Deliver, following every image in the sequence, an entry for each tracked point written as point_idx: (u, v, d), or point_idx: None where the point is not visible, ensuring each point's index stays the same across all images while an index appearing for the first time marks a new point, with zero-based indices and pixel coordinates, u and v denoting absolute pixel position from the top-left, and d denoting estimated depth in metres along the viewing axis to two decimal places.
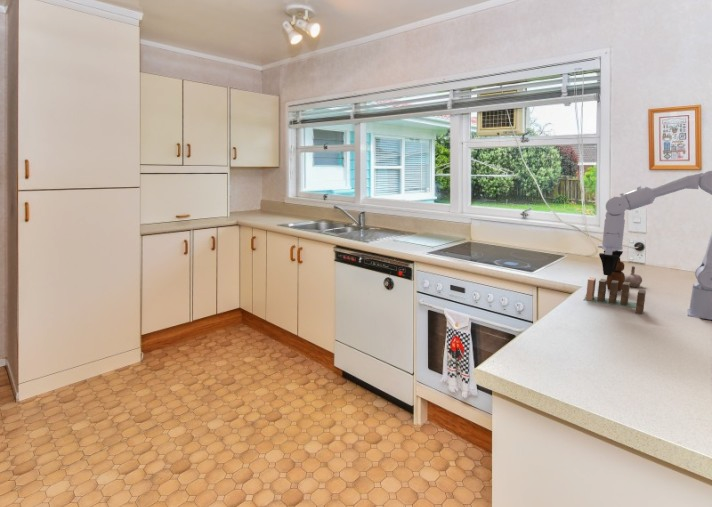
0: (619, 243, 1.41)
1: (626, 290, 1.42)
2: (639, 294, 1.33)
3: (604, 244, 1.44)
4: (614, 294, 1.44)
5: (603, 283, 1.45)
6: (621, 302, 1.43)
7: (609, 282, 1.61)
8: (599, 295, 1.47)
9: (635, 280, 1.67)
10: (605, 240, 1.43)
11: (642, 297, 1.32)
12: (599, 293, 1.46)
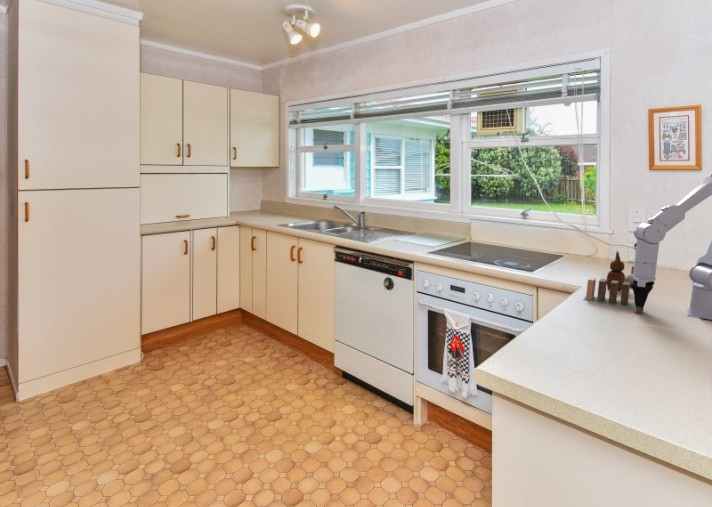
0: (652, 274, 1.30)
1: (626, 290, 1.42)
2: None
3: (635, 274, 1.33)
4: (614, 294, 1.44)
5: (603, 283, 1.45)
6: (621, 302, 1.43)
7: (609, 282, 1.61)
8: (599, 295, 1.47)
9: None
10: (637, 270, 1.32)
11: None
12: (599, 293, 1.46)
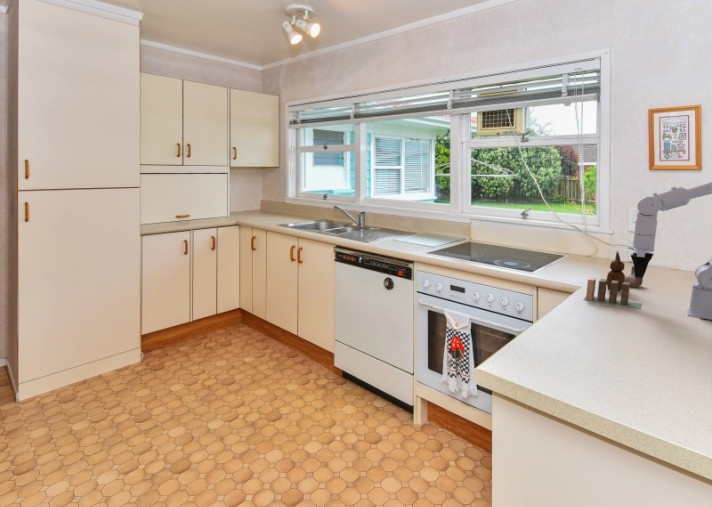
0: (651, 245, 1.36)
1: (626, 290, 1.42)
2: None
3: (635, 246, 1.39)
4: (614, 294, 1.44)
5: (603, 283, 1.45)
6: (621, 302, 1.43)
7: (609, 282, 1.61)
8: (599, 295, 1.47)
9: None
10: (636, 241, 1.38)
11: None
12: (599, 293, 1.46)
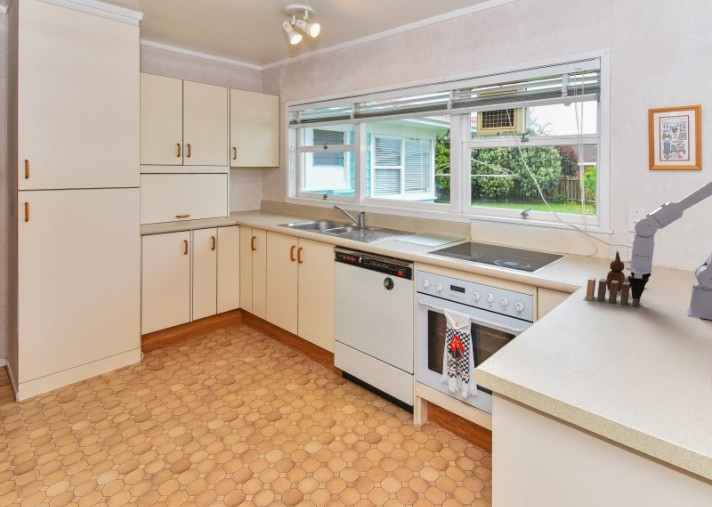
0: (648, 266, 1.37)
1: (626, 290, 1.42)
2: None
3: (633, 266, 1.40)
4: (614, 294, 1.44)
5: (603, 283, 1.45)
6: (621, 302, 1.43)
7: (609, 282, 1.61)
8: (599, 295, 1.47)
9: None
10: (634, 262, 1.39)
11: None
12: (599, 293, 1.46)
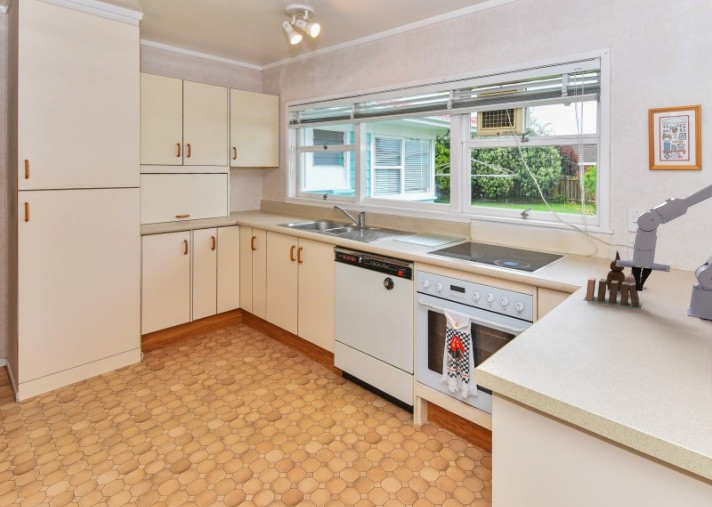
0: (635, 259, 1.39)
1: (626, 290, 1.42)
2: (630, 287, 1.41)
3: None
4: (614, 294, 1.44)
5: (603, 283, 1.45)
6: (621, 302, 1.43)
7: (609, 282, 1.61)
8: (599, 295, 1.47)
9: None
10: None
11: (633, 289, 1.40)
12: (599, 293, 1.46)
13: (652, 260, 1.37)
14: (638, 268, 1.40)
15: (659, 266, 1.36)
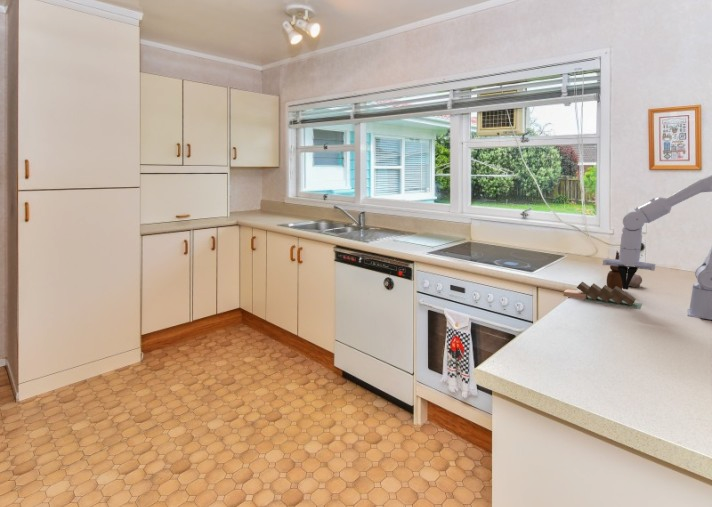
0: (621, 257, 1.41)
1: (607, 291, 1.45)
2: (613, 292, 1.44)
3: None
4: (601, 293, 1.46)
5: (580, 285, 1.50)
6: (617, 302, 1.44)
7: (609, 282, 1.61)
8: (590, 295, 1.48)
9: (635, 280, 1.67)
10: None
11: (617, 291, 1.43)
12: (588, 294, 1.49)
13: (637, 259, 1.39)
14: (624, 267, 1.42)
15: (644, 265, 1.38)
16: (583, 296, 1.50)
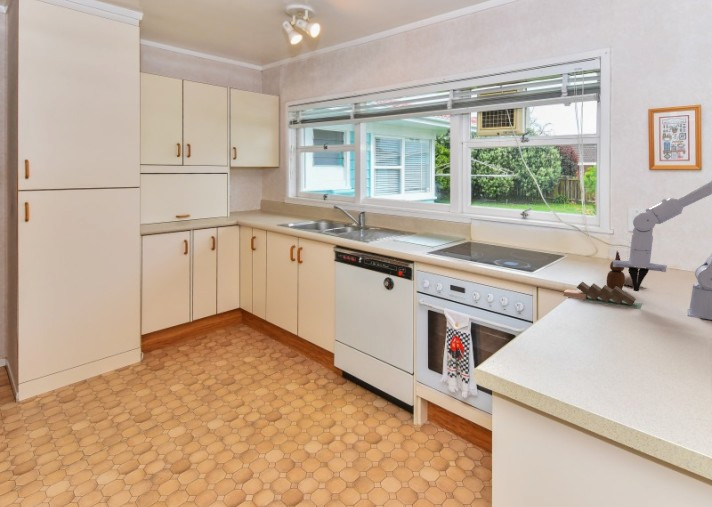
0: (632, 259, 1.39)
1: (607, 291, 1.45)
2: (613, 292, 1.44)
3: None
4: (601, 293, 1.46)
5: (580, 285, 1.50)
6: (617, 302, 1.44)
7: (609, 282, 1.61)
8: (590, 295, 1.48)
9: None
10: None
11: (617, 291, 1.43)
12: (588, 294, 1.49)
13: (648, 260, 1.38)
14: (635, 268, 1.40)
15: (655, 266, 1.36)
16: (583, 296, 1.50)
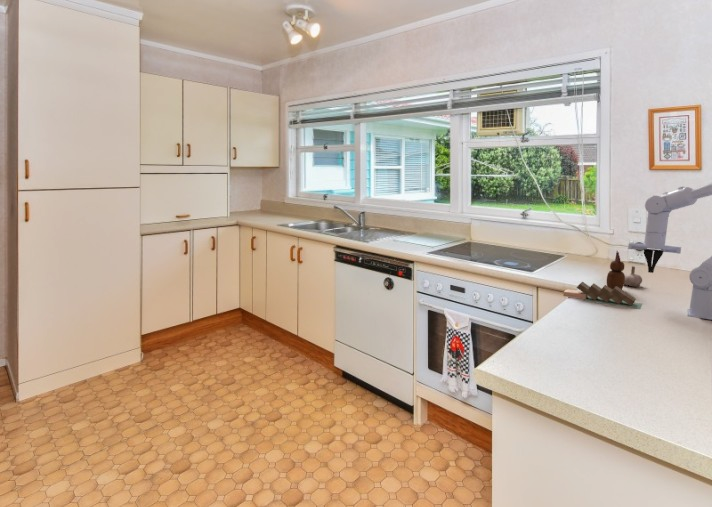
0: (647, 241, 1.44)
1: (607, 291, 1.45)
2: (613, 292, 1.44)
3: None
4: (601, 293, 1.46)
5: (580, 285, 1.50)
6: (617, 302, 1.44)
7: (609, 282, 1.61)
8: (590, 295, 1.48)
9: (635, 280, 1.67)
10: None
11: (617, 291, 1.43)
12: (588, 294, 1.49)
13: (663, 242, 1.42)
14: (650, 250, 1.45)
15: (670, 248, 1.41)
16: (583, 296, 1.50)
